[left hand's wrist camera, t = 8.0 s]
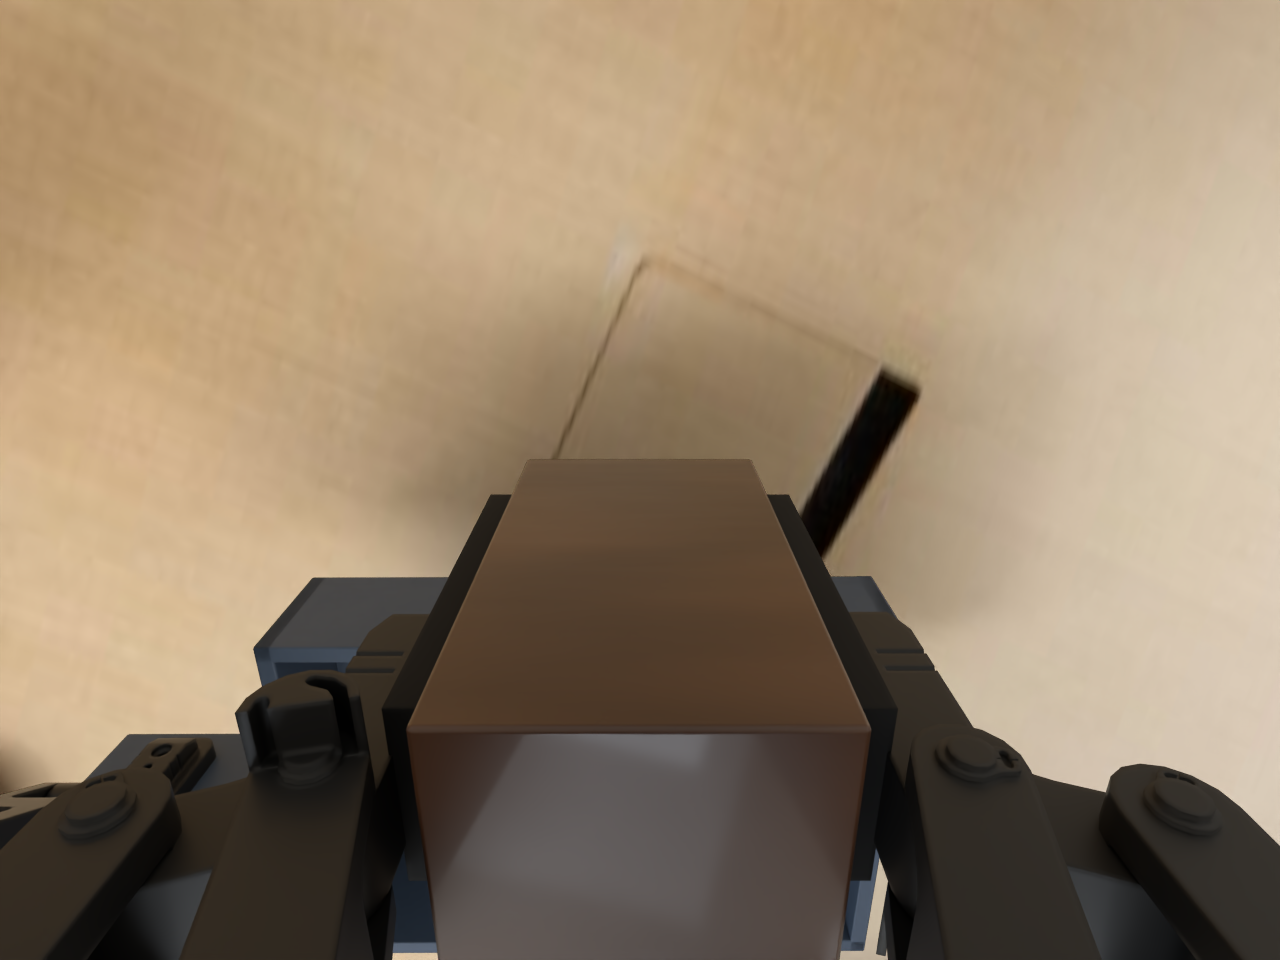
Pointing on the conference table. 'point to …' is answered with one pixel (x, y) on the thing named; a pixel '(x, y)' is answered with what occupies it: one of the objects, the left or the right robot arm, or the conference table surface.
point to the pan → (327, 640)
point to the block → (638, 730)
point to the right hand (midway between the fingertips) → (195, 764)
